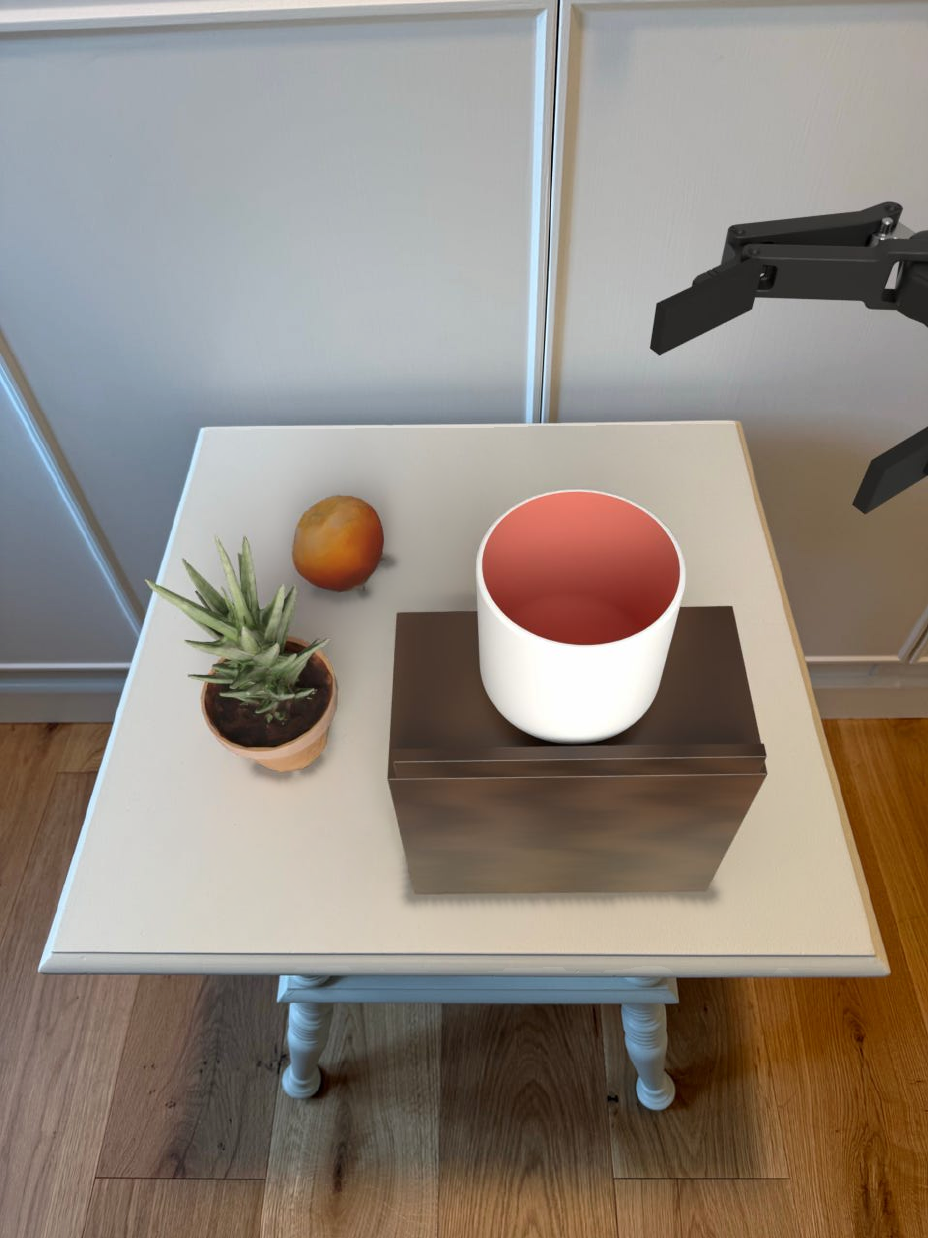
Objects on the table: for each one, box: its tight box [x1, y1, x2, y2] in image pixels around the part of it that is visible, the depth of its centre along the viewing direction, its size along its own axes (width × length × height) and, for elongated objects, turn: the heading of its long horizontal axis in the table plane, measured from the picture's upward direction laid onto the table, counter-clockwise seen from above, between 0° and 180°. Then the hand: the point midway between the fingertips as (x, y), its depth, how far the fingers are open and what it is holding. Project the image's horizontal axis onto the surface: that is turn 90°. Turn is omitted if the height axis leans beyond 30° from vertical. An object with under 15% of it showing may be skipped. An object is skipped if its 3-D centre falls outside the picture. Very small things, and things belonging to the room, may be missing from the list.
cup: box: [475, 488, 687, 744], centre depth 48 cm, size 10×10×10 cm
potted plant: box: [144, 533, 339, 773], centre depth 61 cm, size 10×10×25 cm
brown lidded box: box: [386, 605, 768, 895], centre depth 58 cm, size 20×11×20 cm, turn 90°
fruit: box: [291, 494, 389, 593], centre depth 78 cm, size 8×8×8 cm
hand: (753, 403), depth 43 cm, fingers open, 13 cm apart
